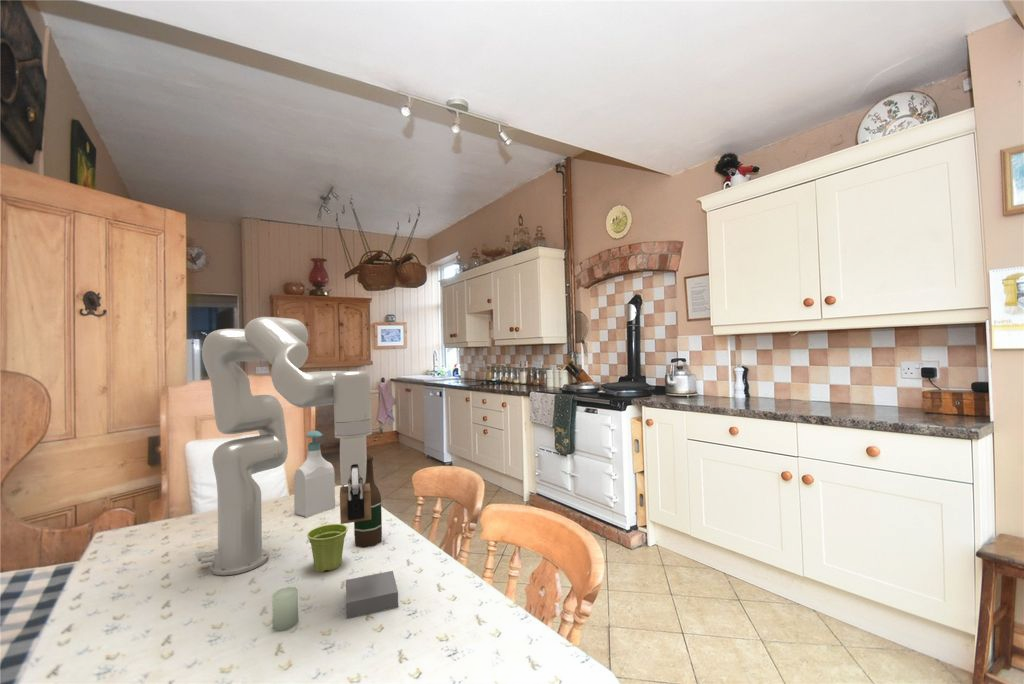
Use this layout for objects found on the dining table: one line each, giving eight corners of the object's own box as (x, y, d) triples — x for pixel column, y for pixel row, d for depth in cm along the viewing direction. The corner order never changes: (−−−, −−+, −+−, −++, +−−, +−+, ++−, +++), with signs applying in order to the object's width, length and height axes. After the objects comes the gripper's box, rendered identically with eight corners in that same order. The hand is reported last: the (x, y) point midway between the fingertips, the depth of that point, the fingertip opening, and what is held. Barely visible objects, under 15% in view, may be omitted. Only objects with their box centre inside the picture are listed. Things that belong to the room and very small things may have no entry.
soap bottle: (309, 518, 144) (307, 434, 145) (294, 514, 148) (293, 432, 150) (338, 508, 153) (336, 429, 154) (323, 504, 158) (322, 427, 159)
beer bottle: (377, 547, 120) (375, 458, 120) (349, 548, 120) (347, 459, 121) (386, 536, 127) (384, 452, 128) (359, 537, 128) (357, 453, 128)
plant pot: (356, 561, 112) (356, 526, 112) (327, 578, 103) (326, 541, 104) (329, 555, 116) (329, 521, 116) (298, 571, 107) (298, 535, 108)
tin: (271, 633, 83) (270, 601, 83) (274, 620, 87) (274, 589, 87) (297, 627, 84) (296, 595, 85) (299, 615, 89) (298, 585, 89)
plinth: (346, 618, 87) (346, 603, 87) (346, 593, 96) (345, 579, 96) (398, 606, 90) (398, 591, 91) (393, 584, 100) (392, 570, 100)
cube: (340, 524, 90) (339, 494, 90) (341, 515, 96) (340, 487, 96) (371, 519, 92) (370, 490, 92) (370, 510, 98) (369, 483, 98)
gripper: (335, 425, 101) (338, 505, 101) (332, 436, 85) (335, 530, 84) (370, 422, 104) (372, 500, 103) (373, 432, 88) (376, 524, 87)
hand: (356, 513), depth 94 cm, fingers closed on cube, 6 cm apart
